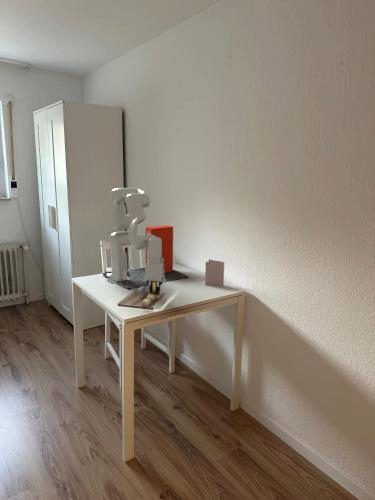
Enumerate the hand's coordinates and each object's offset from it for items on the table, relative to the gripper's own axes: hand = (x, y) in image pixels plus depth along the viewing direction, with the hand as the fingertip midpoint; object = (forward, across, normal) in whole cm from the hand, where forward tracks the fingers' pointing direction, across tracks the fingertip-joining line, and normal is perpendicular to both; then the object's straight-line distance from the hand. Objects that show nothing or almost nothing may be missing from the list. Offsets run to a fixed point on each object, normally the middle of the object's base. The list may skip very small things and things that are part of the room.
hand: (154, 292), depth 195 cm
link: (+2, 0, +6) cm, 6 cm away
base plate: (+4, +5, +4) cm, 8 cm away
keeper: (+2, +8, 0) cm, 8 cm away
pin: (+2, 0, 0) cm, 2 cm away
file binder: (+4, +15, -52) cm, 54 cm away
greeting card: (+4, -26, -35) cm, 44 cm away
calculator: (+5, +42, -38) cm, 57 cm away
